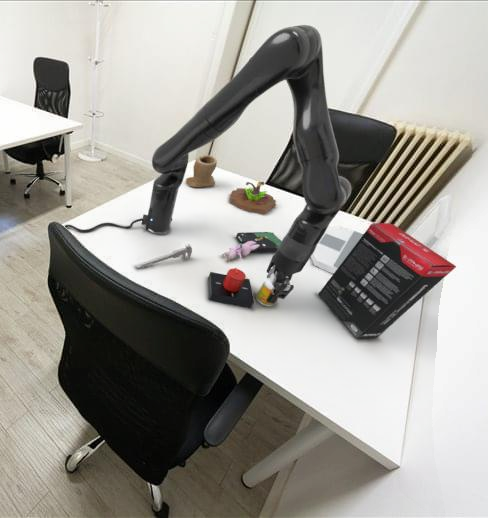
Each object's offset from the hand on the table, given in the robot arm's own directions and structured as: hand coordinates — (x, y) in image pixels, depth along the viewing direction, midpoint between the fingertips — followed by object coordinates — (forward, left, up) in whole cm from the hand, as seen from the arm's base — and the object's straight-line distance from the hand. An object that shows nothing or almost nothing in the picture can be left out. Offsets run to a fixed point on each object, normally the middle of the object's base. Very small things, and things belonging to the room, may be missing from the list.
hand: (268, 294), depth 87 cm
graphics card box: (+22, 0, -2) cm, 22 cm away
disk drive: (+3, +30, -3) cm, 30 cm away
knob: (-11, 0, +1) cm, 11 cm away
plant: (+5, +66, -2) cm, 66 cm away
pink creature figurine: (-5, +21, -2) cm, 22 cm away
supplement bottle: (0, 0, -2) cm, 2 cm away
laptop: (+36, +33, -2) cm, 49 cm away
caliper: (-32, +9, -2) cm, 33 cm away
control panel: (-11, 0, -2) cm, 11 cm away
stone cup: (-18, +78, -2) cm, 80 cm away
